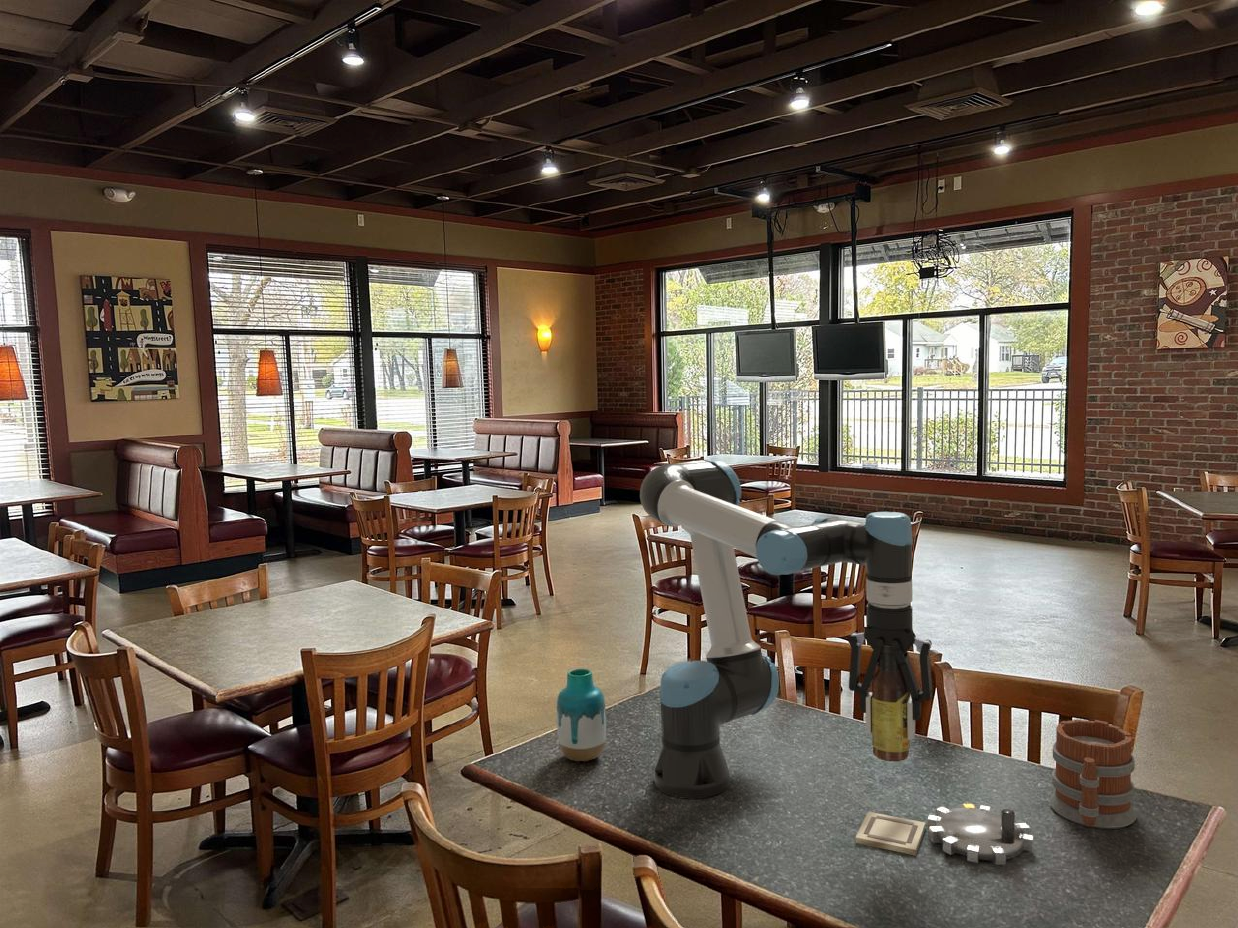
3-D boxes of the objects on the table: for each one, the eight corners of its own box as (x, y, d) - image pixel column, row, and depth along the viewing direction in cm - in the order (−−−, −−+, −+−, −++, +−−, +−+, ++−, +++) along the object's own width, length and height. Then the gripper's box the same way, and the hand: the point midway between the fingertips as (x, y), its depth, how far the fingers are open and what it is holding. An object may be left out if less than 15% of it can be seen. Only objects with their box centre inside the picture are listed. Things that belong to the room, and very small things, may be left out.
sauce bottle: (911, 764, 149) (911, 650, 147) (873, 762, 150) (872, 648, 148) (907, 748, 155) (906, 638, 153) (870, 746, 156) (869, 637, 154)
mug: (1137, 802, 162) (1138, 724, 161) (1135, 851, 146) (1137, 764, 145) (1052, 787, 170) (1053, 711, 168) (1042, 832, 153) (1043, 749, 152)
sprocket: (986, 873, 140) (986, 831, 139) (907, 831, 154) (907, 793, 153) (1049, 842, 148) (1050, 803, 148) (969, 805, 162) (969, 769, 161)
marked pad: (855, 842, 152) (855, 836, 152) (868, 816, 161) (868, 810, 160) (915, 855, 147) (915, 849, 147) (925, 827, 156) (925, 821, 156)
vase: (616, 753, 192) (613, 668, 190) (589, 772, 183) (585, 683, 181) (577, 744, 197) (573, 661, 196) (548, 762, 189) (544, 675, 187)
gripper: (827, 603, 151) (829, 733, 153) (945, 613, 142) (946, 751, 144) (838, 593, 158) (840, 718, 160) (951, 602, 149) (952, 734, 151)
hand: (890, 733), depth 152 cm, fingers closed on sauce bottle, 6 cm apart
